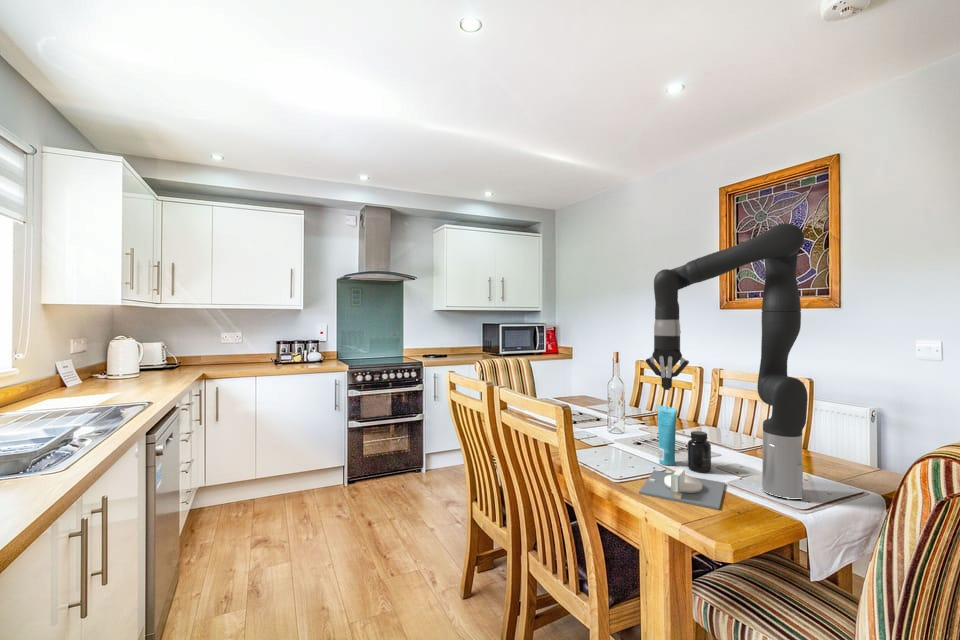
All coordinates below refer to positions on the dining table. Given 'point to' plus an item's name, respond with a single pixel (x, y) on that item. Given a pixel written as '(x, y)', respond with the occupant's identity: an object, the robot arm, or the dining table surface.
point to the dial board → (704, 498)
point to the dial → (682, 482)
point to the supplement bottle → (699, 452)
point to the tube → (666, 434)
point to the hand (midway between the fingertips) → (666, 389)
